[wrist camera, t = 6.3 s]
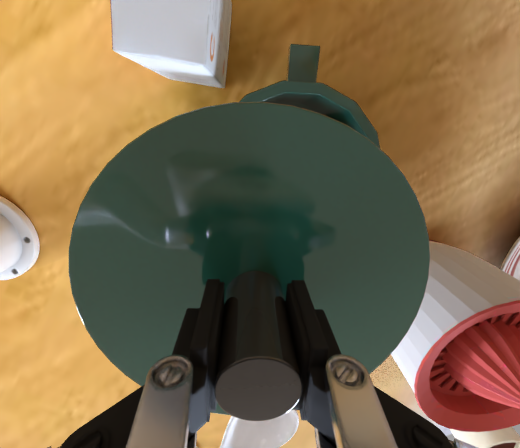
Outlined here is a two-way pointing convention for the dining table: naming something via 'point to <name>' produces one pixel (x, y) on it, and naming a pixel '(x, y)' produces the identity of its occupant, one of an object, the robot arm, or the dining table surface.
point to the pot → (313, 93)
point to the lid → (248, 246)
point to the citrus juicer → (465, 344)
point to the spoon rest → (260, 432)
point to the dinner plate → (513, 261)
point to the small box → (175, 37)
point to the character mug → (490, 438)
